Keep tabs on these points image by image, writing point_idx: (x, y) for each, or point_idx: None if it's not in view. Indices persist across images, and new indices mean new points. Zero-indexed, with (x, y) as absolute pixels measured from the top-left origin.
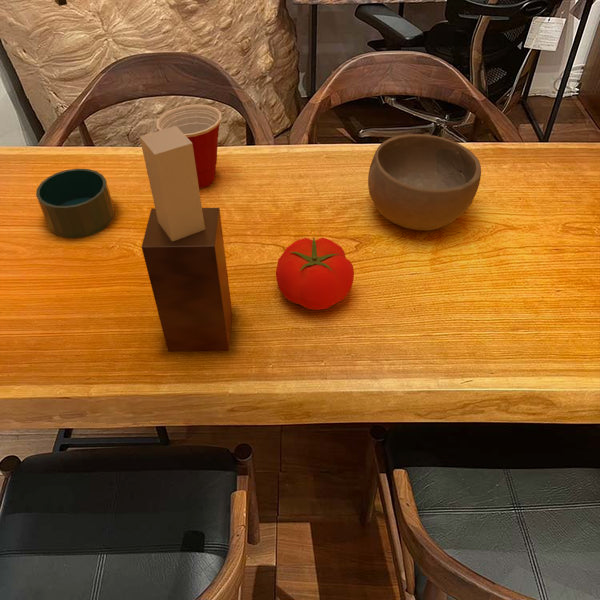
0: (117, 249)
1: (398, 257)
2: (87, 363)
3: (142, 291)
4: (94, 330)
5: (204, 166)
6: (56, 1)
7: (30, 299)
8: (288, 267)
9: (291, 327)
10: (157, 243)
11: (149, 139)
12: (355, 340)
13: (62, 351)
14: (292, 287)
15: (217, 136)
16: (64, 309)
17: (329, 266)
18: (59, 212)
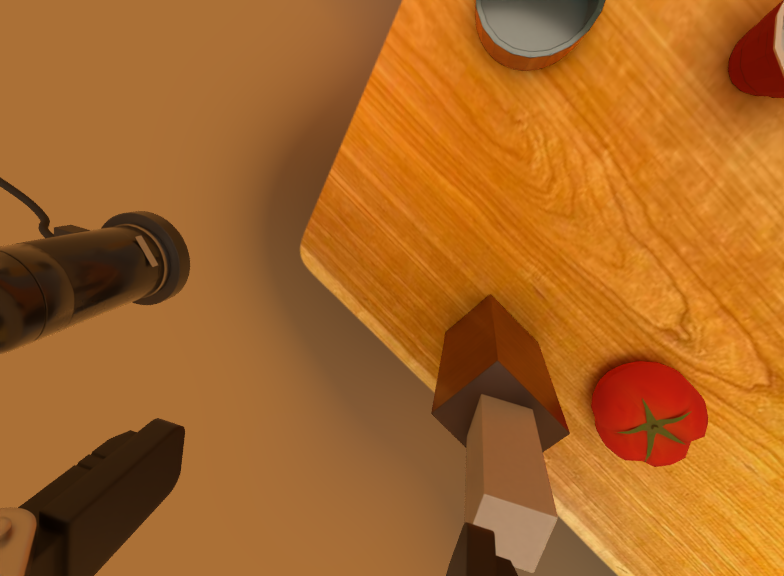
0: (519, 132)
1: (771, 439)
2: (374, 281)
3: (487, 234)
4: (406, 246)
5: (775, 95)
6: (455, 552)
7: (377, 138)
8: (615, 414)
9: (566, 408)
10: (450, 424)
11: (489, 513)
12: (597, 469)
13: (364, 246)
14: (597, 419)
15: None
16: (399, 188)
17: (651, 454)
18: (486, 35)
